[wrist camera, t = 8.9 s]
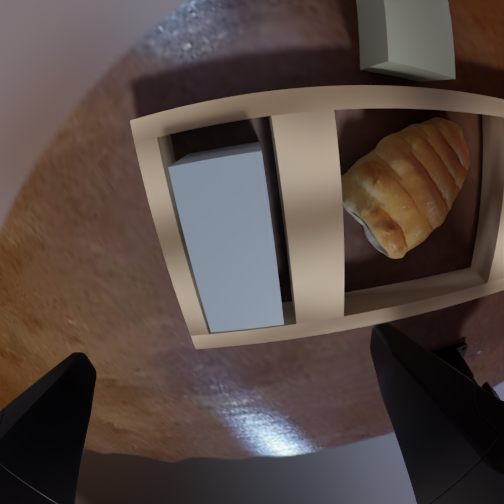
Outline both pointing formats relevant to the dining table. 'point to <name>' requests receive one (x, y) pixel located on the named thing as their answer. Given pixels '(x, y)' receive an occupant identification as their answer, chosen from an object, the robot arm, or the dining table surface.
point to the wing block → (229, 235)
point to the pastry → (407, 184)
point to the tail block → (406, 38)
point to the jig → (322, 208)
